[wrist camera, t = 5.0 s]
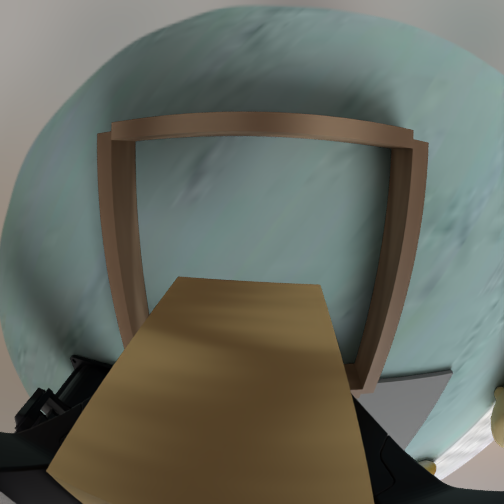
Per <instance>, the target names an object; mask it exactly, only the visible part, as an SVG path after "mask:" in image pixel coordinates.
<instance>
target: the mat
mask: <svg viewBox="0 0 504 504" xmlns="http://www.w3.org/2000/svg"><path fill="white" fill-rule="evenodd" d="M452 374H453V372H452V370H447V371H441V372H435V373H428V374H421V375H413V376H405V377H396V378H385V379H379V380H378V383H377V385H376V387H375V390H374V392H373V393H367V394H361V395H360V397H359V398H357V400H358V401H359V402H360V403H361V405H362V406H363V407H364V408H365V409H366V410H367V411H368V412H369V413H370V415H371V416H372V417H373V418H374V419H375V420H376V421H377V422H378V423H379V424H380V426H381V427H382V428H383V429H384V430H385V431H386V432H387V433H388V435H390V436H391V437H392V439H393V440H394V441H395V442H396V443H397V444H398V445H399V446H400V447H401V448H402V449H403V450H405V448H406V447H407V446H408V444H409V443H410V442H411V440H412V439H413V438H414V436H415V435H416V433H417V432H418V430H419V429H420V428H421V426H422V425H423V423H424V422H425V420H426V419H427V417H428V415H429V414H430V412H431V411H432V409H433V408H434V406H435V404H436V403H437V401H438V399H439V398H440V396H441V394H442V392H443V391H444V389H445V387H446V385H447V383H448V382H449V380H450V378H451V376H452Z"/></svg>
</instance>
